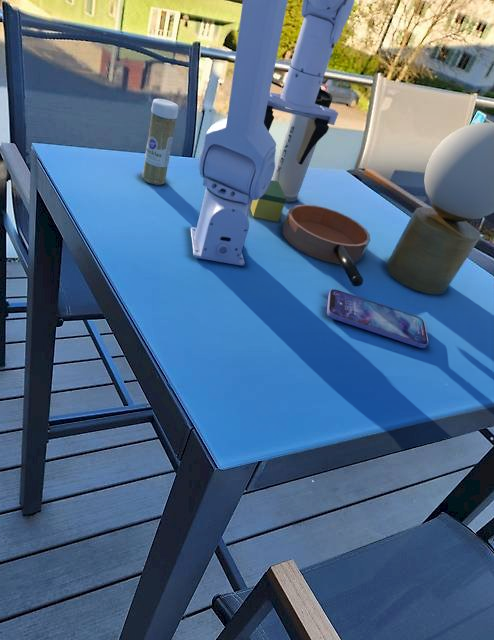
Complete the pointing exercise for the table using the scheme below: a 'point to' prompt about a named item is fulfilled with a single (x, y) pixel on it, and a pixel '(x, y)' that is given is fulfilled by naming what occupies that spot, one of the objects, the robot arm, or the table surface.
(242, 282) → the table surface
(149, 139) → the sprinkles bottle
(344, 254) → the pan handle
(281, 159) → the travel mug
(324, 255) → the pan
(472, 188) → the lamp
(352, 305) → the smartphone
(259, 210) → the sponge
